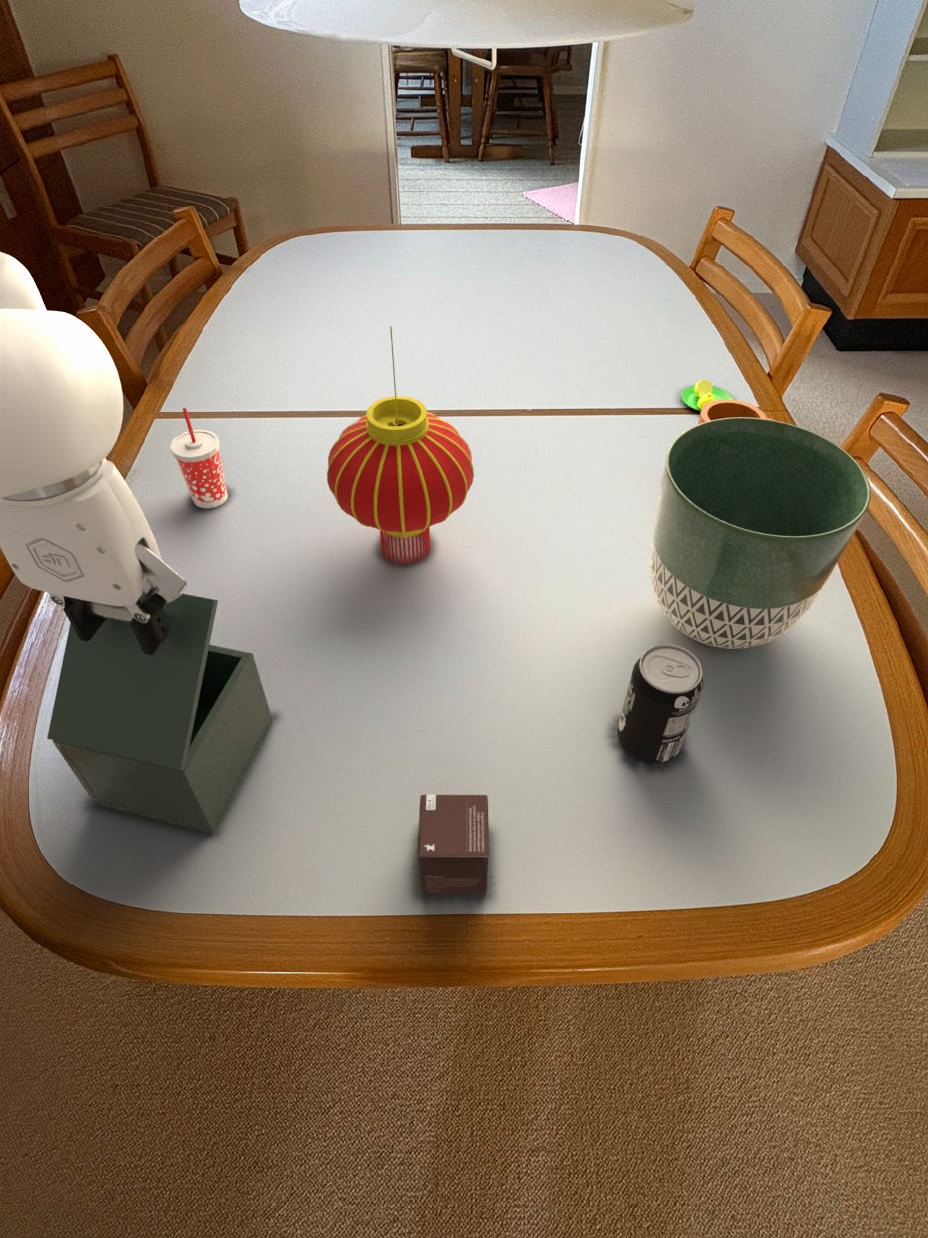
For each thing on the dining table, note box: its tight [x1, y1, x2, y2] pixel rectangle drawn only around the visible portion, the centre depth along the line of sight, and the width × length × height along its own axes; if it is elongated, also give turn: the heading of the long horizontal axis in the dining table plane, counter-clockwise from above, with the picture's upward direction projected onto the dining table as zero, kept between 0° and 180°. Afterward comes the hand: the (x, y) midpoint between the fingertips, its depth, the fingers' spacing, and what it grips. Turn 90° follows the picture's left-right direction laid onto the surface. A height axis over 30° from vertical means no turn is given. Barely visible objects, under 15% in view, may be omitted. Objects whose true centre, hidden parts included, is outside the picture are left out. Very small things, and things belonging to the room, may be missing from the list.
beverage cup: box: [170, 407, 228, 509], centre depth 103 cm, size 6×6×14 cm
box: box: [416, 793, 490, 895], centre depth 69 cm, size 6×6×7 cm
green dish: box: [681, 379, 734, 412], centre depth 124 cm, size 8×8×3 cm
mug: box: [697, 399, 776, 425], centre depth 109 cm, size 9×12×9 cm
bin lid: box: [46, 591, 219, 770], centre depth 65 cm, size 14×13×5 cm
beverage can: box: [616, 643, 705, 765], centre depth 77 cm, size 7×7×12 cm
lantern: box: [326, 325, 475, 565], centre depth 90 cm, size 17×17×30 cm
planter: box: [649, 417, 872, 650], centre depth 85 cm, size 20×20×21 cm
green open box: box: [52, 644, 273, 834], centre depth 75 cm, size 14×13×11 cm
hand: (125, 633), depth 65 cm, fingers closed on bin lid, 5 cm apart
